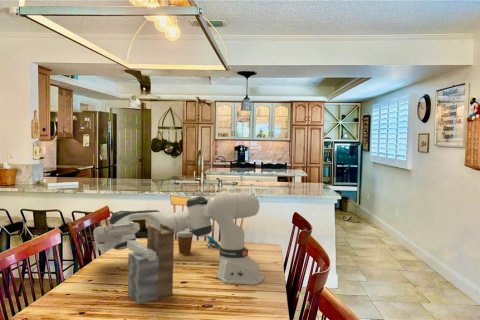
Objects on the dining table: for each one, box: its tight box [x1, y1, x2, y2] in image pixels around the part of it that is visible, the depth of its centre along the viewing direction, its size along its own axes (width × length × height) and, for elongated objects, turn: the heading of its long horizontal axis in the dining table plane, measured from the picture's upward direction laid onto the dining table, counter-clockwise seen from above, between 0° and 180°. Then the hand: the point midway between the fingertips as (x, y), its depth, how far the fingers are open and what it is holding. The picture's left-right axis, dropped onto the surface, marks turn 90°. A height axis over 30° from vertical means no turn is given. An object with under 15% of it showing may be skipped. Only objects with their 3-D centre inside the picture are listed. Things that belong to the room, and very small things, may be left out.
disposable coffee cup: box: [176, 229, 195, 255], centre depth 210 cm, size 10×10×12 cm
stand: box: [127, 224, 175, 305], centre depth 149 cm, size 11×14×28 cm
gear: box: [205, 235, 221, 249], centre depth 223 cm, size 11×6×10 cm
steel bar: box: [126, 240, 156, 261], centre depth 149 cm, size 22×3×3 cm, turn 38°
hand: (122, 224), depth 163 cm, fingers open, 8 cm apart
